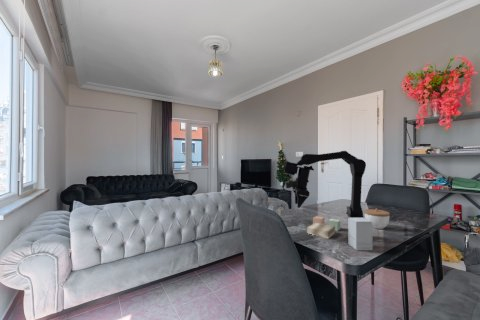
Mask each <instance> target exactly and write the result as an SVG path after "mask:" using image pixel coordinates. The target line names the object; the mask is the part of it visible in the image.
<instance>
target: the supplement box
mask: <svg viewBox="0 0 480 320" xmlns="http://www.w3.org/2000/svg"><path fill="white" fill-rule="evenodd" d="M347 218H348V217H347ZM347 221H348V222H347V223H348V225H347V226H348V229H347V230H348V231H347V232H348V235H347V236H348V242H347V243H348V245H349V246H350V247H351V248H352V249H354V250H356V251H373V228H372V221H370V220H368V219H365V217H364V218H348V219H347Z"/></svg>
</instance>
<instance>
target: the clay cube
mask: <svg viewBox="0 0 480 320" xmlns="http://www.w3.org/2000/svg"><path fill="white" fill-rule="evenodd" d="M314 223H319V224H324V225H325V216H317V215H316V216H314V217H312V224H314Z"/></svg>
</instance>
